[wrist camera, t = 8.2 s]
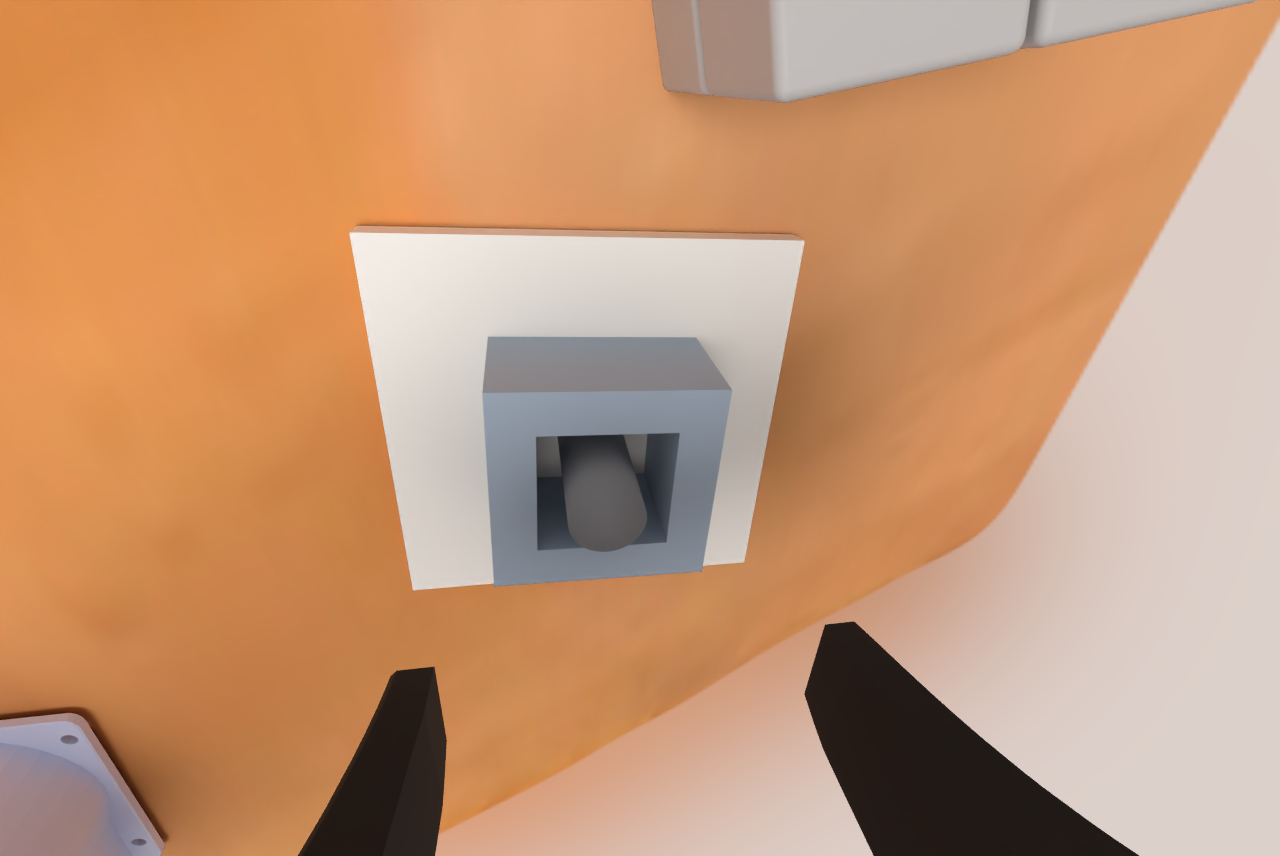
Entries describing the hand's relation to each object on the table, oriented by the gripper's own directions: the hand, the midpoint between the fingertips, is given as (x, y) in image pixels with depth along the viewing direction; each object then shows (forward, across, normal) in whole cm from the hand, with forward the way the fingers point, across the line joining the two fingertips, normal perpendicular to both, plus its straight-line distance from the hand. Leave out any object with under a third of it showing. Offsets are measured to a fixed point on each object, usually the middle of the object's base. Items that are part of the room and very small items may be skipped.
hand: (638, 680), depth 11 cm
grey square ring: (+9, 0, 0) cm, 9 cm away
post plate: (+10, 0, 0) cm, 10 cm away
